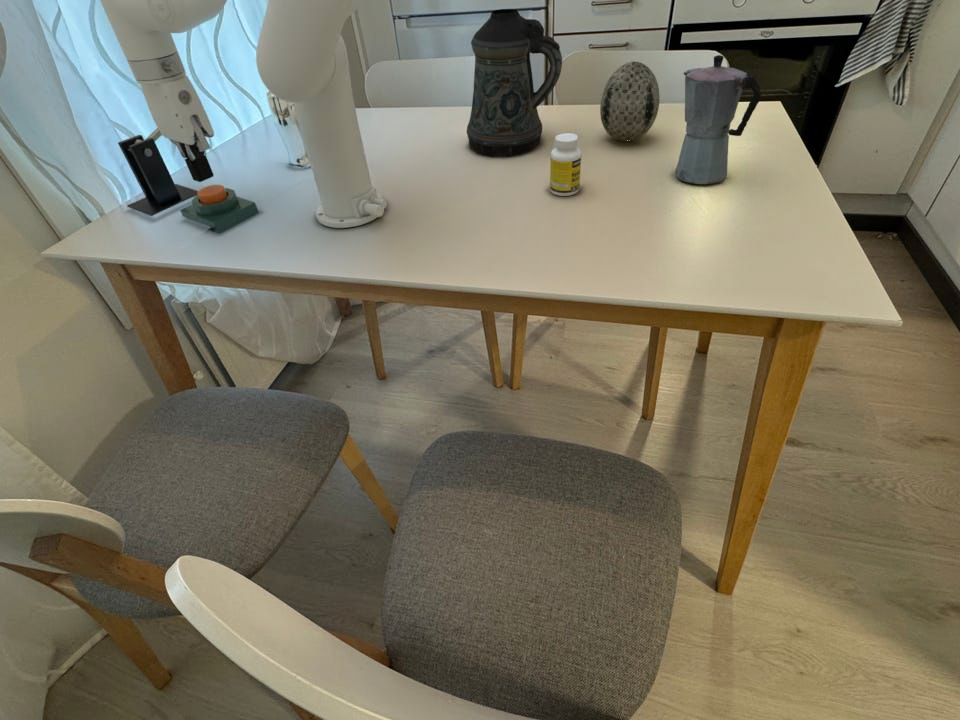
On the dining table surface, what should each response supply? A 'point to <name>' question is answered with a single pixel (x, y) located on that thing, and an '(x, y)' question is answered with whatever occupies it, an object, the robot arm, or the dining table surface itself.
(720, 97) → the moka pot
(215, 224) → the block
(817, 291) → the dining table surface
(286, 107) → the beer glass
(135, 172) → the lever bracket
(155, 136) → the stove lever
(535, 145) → the beer stein
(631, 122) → the decorative egg
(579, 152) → the supplement bottle
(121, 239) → the dining table surface
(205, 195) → the button
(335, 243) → the dining table surface
